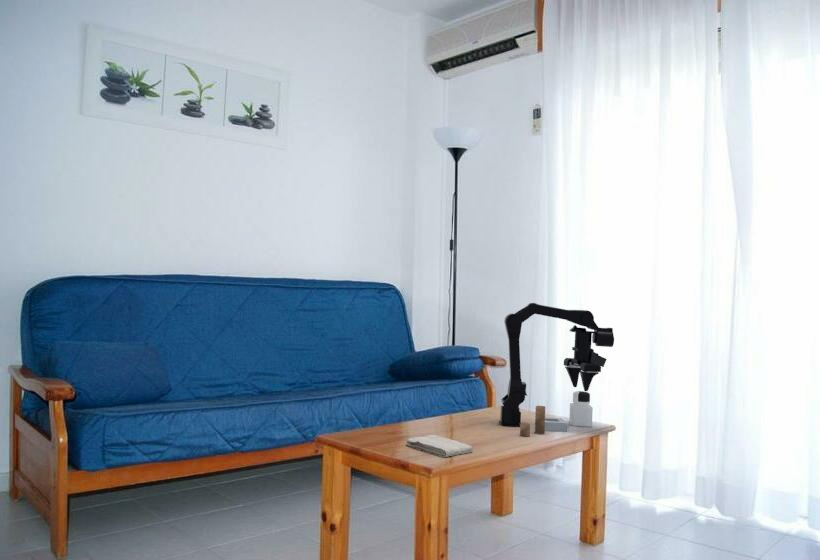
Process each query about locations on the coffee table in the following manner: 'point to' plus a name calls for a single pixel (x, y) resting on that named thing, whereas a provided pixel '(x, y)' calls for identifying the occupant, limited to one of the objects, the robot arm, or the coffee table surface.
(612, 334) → the robot arm
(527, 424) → the short stub
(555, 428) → the collar block
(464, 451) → the washcloth
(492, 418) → the coffee table surface
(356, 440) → the coffee table surface
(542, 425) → the long dowel
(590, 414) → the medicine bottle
